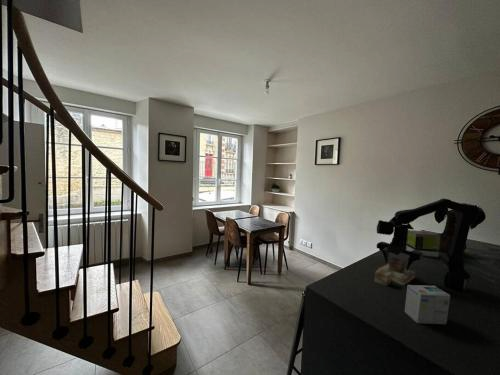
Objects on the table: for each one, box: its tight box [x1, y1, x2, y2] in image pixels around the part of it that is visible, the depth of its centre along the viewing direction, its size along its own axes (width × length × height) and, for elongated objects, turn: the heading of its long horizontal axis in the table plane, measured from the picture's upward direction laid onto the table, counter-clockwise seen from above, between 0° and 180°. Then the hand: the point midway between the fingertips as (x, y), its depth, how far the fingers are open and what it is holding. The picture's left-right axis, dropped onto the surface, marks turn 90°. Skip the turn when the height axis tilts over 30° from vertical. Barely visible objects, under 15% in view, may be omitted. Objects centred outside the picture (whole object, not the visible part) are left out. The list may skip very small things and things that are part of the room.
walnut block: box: [388, 257, 406, 273], centre depth 110 cm, size 5×5×5 cm
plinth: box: [376, 262, 416, 286], centre depth 111 cm, size 12×14×3 cm
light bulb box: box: [404, 284, 451, 325], centre depth 78 cm, size 11×7×11 cm, turn 92°
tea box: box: [406, 229, 440, 258], centre depth 147 cm, size 15×10×15 cm, turn 84°
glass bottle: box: [437, 211, 467, 253], centre depth 153 cm, size 18×18×28 cm
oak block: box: [374, 269, 392, 287], centre depth 104 cm, size 5×5×5 cm
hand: (396, 266), depth 110 cm, fingers open, 9 cm apart
